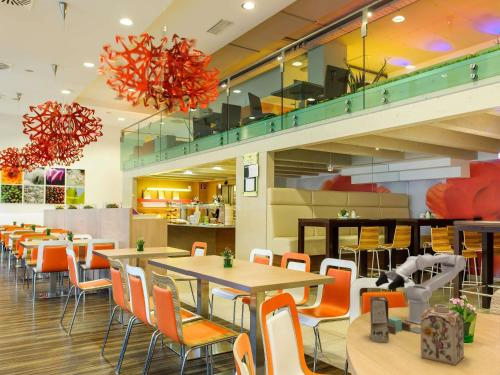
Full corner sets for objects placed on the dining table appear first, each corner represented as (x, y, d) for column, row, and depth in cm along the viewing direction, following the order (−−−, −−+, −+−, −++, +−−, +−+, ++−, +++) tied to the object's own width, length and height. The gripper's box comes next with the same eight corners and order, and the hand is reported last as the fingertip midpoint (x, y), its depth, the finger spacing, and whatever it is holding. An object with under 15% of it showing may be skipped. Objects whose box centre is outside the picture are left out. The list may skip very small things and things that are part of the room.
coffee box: (389, 342, 167) (388, 301, 168) (372, 341, 168) (371, 300, 169) (386, 336, 176) (386, 296, 176) (370, 335, 177) (369, 295, 178)
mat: (416, 327, 188) (416, 326, 188) (429, 331, 182) (429, 330, 182) (404, 329, 185) (404, 328, 185) (418, 333, 179) (418, 333, 179)
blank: (392, 328, 187) (392, 316, 187) (401, 331, 183) (401, 319, 183) (386, 329, 185) (386, 317, 186) (395, 332, 181) (395, 320, 181)
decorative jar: (430, 349, 159) (429, 300, 160) (464, 356, 152) (463, 305, 153) (420, 358, 150) (419, 306, 151) (455, 366, 143) (454, 311, 143)
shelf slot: (394, 326, 190) (394, 319, 191) (410, 331, 182) (410, 324, 183) (377, 329, 186) (377, 322, 186) (393, 334, 178) (393, 327, 178)
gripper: (388, 261, 201) (368, 275, 195) (413, 266, 188) (392, 281, 183) (392, 275, 202) (372, 289, 197) (417, 280, 190) (396, 296, 184)
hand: (382, 286), depth 190 cm, fingers open, 7 cm apart
